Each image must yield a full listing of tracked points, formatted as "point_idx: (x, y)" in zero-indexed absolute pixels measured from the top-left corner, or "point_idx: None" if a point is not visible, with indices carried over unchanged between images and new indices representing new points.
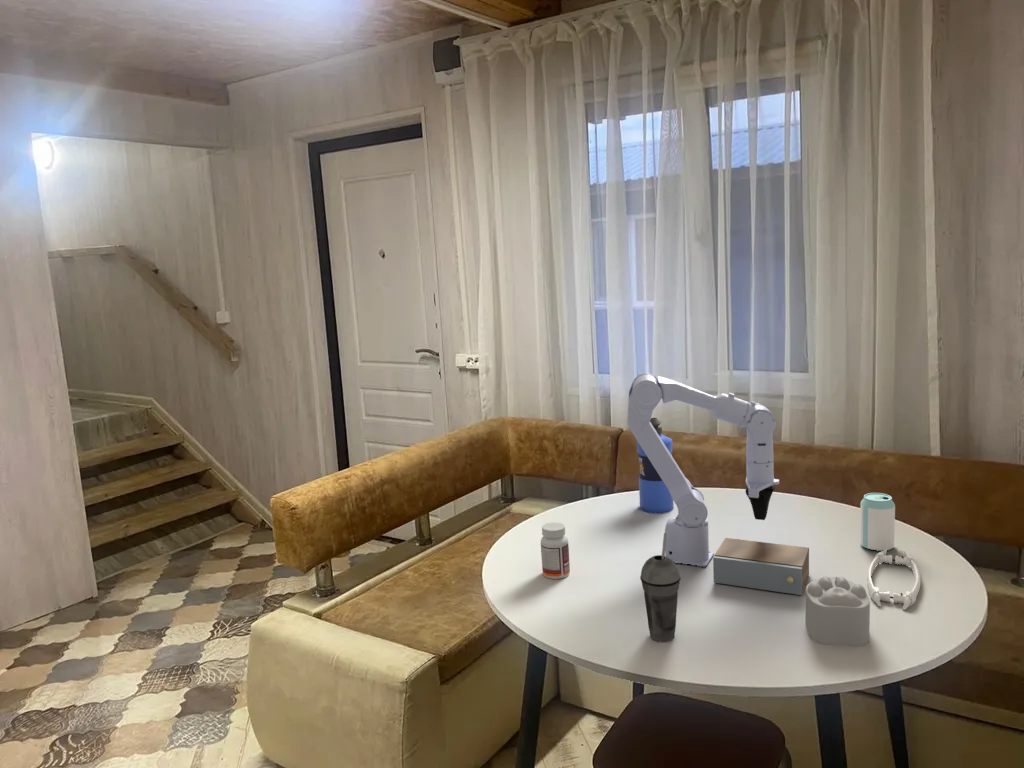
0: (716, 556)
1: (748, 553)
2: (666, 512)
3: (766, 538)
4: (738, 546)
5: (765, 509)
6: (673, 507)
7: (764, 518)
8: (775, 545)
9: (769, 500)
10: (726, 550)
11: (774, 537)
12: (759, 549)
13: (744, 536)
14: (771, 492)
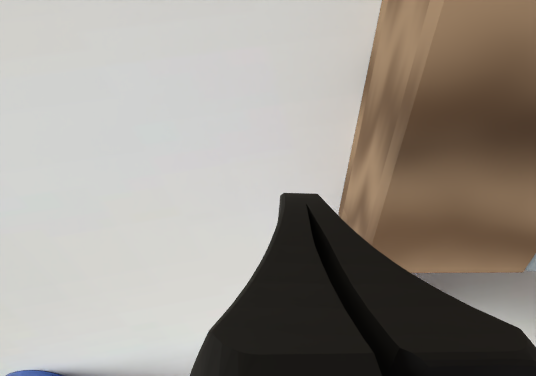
0: (534, 265)
1: (529, 180)
2: (58, 374)
3: (84, 137)
4: (451, 223)
5: (358, 236)
6: (18, 373)
7: (321, 199)
8: (441, 83)
9: (279, 260)
10: (487, 250)
11: (56, 111)
12: (488, 147)
13: (108, 203)
14: (506, 367)
